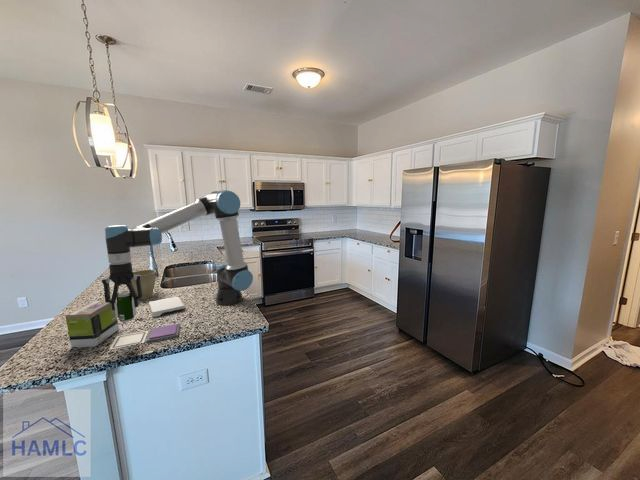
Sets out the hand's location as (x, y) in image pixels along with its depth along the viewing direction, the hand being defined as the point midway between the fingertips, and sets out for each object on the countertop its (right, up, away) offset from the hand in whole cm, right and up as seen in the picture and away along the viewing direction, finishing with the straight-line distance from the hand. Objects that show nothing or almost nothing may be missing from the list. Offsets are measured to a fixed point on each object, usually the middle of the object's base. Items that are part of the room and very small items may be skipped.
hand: (126, 315), depth 115 cm
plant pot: (-27, -4, +54) cm, 60 cm away
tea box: (-16, -11, +3) cm, 20 cm away
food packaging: (-3, -7, +36) cm, 37 cm away
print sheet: (0, -11, +2) cm, 11 cm away
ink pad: (+12, -10, +7) cm, 17 cm away
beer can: (0, -2, 0) cm, 2 cm away
